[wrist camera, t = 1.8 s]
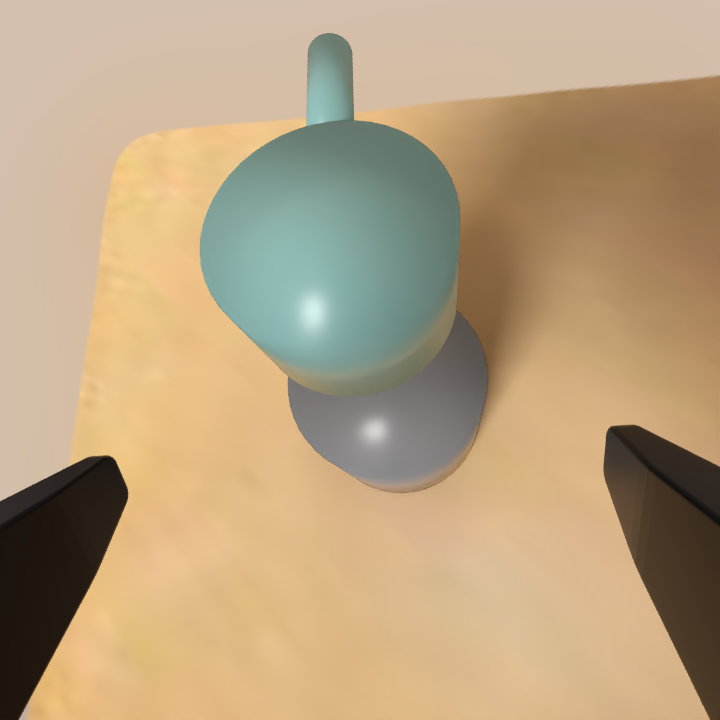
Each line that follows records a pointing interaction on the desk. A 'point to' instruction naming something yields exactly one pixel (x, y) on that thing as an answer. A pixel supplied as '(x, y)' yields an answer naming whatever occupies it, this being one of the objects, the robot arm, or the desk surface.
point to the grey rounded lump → (403, 419)
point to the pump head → (337, 243)
